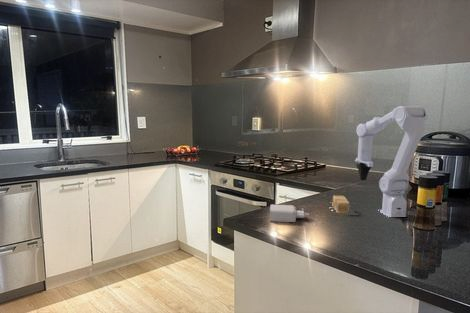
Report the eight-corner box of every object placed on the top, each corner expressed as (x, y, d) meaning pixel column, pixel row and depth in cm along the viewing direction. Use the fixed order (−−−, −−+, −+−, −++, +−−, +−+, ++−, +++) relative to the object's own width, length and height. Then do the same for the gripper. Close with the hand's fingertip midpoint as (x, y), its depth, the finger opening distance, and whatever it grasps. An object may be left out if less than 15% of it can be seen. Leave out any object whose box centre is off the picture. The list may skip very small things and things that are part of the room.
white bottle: (310, 224, 121) (269, 222, 123) (308, 216, 130) (270, 214, 132) (310, 212, 120) (269, 210, 122) (308, 205, 129) (270, 203, 131)
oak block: (342, 205, 140) (348, 212, 133) (332, 205, 139) (337, 213, 133) (343, 195, 138) (349, 202, 132) (333, 195, 138) (338, 202, 131)
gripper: (350, 148, 155) (348, 176, 157) (362, 152, 140) (360, 183, 142) (365, 148, 155) (363, 176, 157) (378, 152, 140) (376, 183, 142)
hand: (363, 179), depth 149 cm, fingers closed
